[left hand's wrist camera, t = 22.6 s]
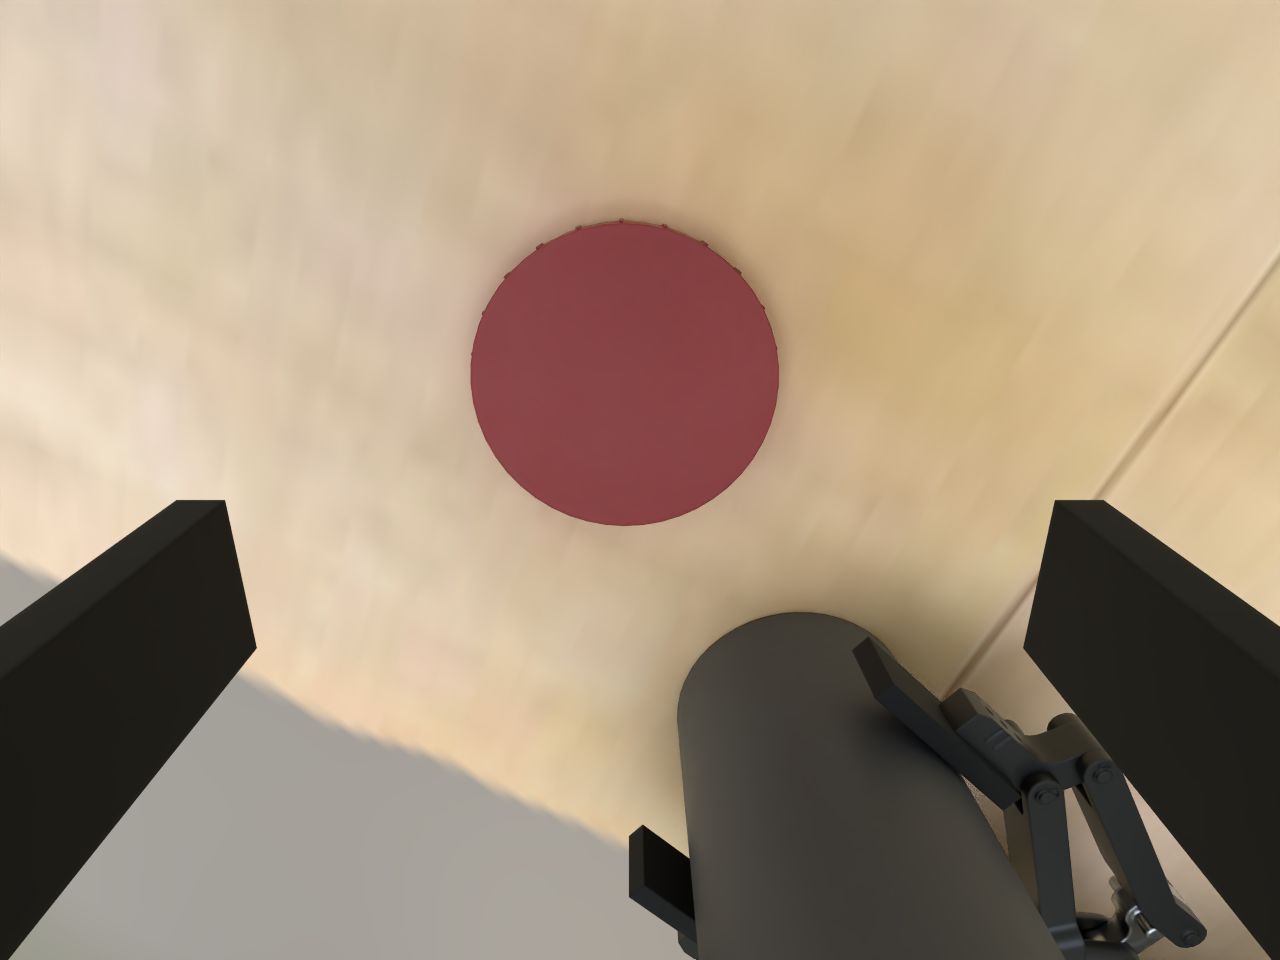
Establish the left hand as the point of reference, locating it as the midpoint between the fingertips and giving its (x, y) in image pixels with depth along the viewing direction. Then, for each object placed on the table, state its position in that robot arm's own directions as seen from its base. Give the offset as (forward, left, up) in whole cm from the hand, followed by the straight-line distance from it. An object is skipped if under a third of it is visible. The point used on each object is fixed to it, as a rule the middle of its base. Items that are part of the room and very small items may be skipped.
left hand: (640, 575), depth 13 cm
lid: (0, 0, -16) cm, 15 cm away
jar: (+17, 0, -17) cm, 24 cm away
